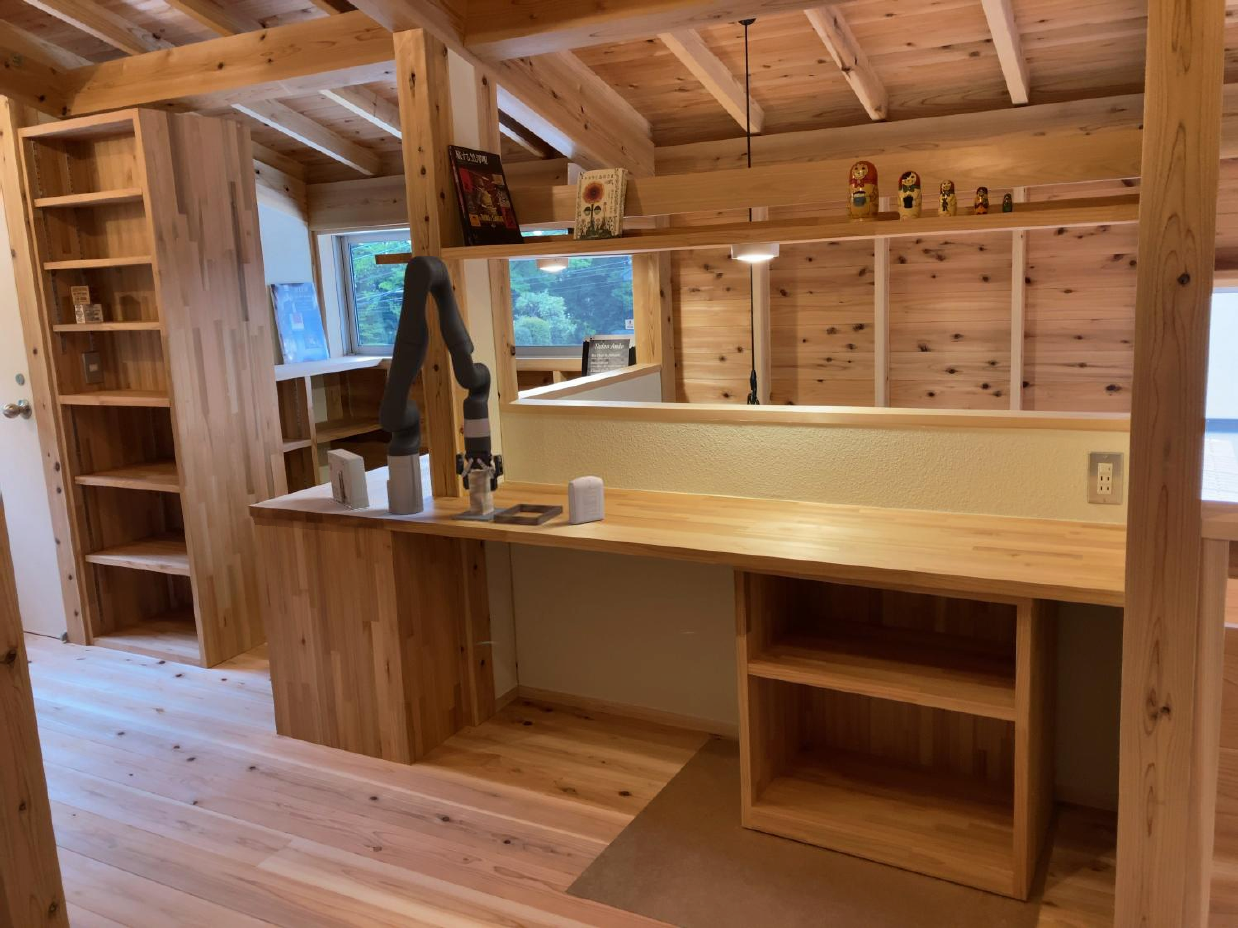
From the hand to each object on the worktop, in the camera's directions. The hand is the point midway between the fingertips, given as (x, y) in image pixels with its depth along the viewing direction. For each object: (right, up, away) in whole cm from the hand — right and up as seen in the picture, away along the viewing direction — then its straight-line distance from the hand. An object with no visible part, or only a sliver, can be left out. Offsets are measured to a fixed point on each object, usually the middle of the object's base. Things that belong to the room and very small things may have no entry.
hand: (480, 490), depth 275 cm
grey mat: (0, -7, +1) cm, 7 cm away
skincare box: (-44, -5, +24) cm, 51 cm away
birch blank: (0, -7, +1) cm, 7 cm away
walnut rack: (+14, -8, -5) cm, 17 cm away
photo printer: (+31, -8, -11) cm, 34 cm away
